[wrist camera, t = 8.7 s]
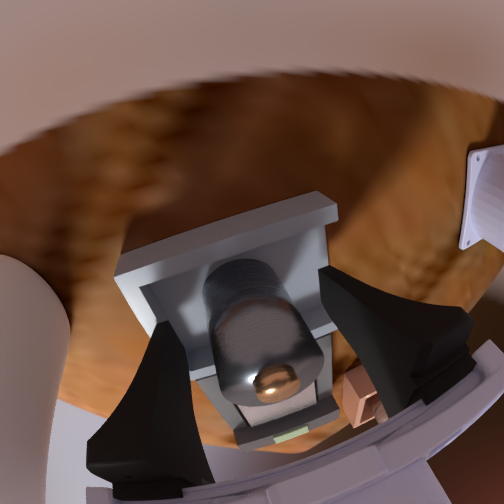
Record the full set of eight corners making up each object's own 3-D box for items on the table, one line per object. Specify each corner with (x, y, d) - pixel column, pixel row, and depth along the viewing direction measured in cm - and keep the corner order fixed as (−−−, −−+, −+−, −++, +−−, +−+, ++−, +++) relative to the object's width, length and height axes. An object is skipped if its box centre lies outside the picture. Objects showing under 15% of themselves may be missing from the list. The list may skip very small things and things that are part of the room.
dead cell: (397, 359, 23) (430, 404, 18) (388, 381, 25) (416, 423, 20) (361, 376, 22) (393, 427, 17) (356, 397, 24) (382, 443, 19)
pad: (229, 384, 16) (232, 397, 16) (306, 357, 17) (312, 368, 16) (248, 416, 19) (251, 427, 18) (311, 393, 20) (316, 403, 19)
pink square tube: (408, 339, 22) (426, 360, 20) (396, 377, 26) (410, 396, 23) (343, 372, 22) (359, 399, 19) (341, 406, 25) (353, 428, 23)
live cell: (272, 247, 13) (331, 336, 8) (284, 308, 15) (330, 394, 10) (190, 273, 13) (206, 379, 8) (214, 331, 15) (239, 427, 10)
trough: (317, 190, 13) (337, 203, 11) (328, 307, 17) (342, 326, 15) (120, 254, 12) (113, 277, 10) (179, 358, 16) (182, 382, 14)
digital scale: (193, 362, 16) (199, 404, 14) (320, 318, 17) (344, 353, 15) (235, 424, 22) (244, 454, 19) (325, 392, 22) (339, 419, 20)
